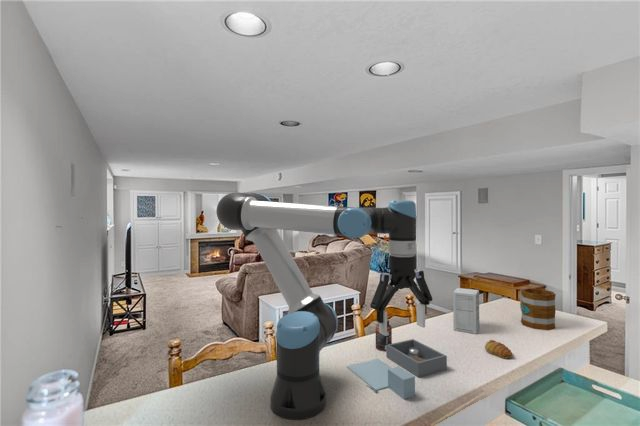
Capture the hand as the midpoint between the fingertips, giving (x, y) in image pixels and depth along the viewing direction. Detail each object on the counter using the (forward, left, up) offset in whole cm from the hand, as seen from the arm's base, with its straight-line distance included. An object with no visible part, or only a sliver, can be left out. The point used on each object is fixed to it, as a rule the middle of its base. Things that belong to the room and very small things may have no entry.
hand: (402, 330), depth 97 cm
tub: (+16, +13, -19) cm, 28 cm away
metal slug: (+19, +16, -18) cm, 31 cm away
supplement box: (+59, +29, -19) cm, 68 cm away
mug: (+93, +21, -19) cm, 97 cm away
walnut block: (+14, +9, -18) cm, 24 cm away
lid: (0, +9, -19) cm, 21 cm away
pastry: (+49, +6, -19) cm, 53 cm away
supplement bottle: (+14, +28, -19) cm, 36 cm away
